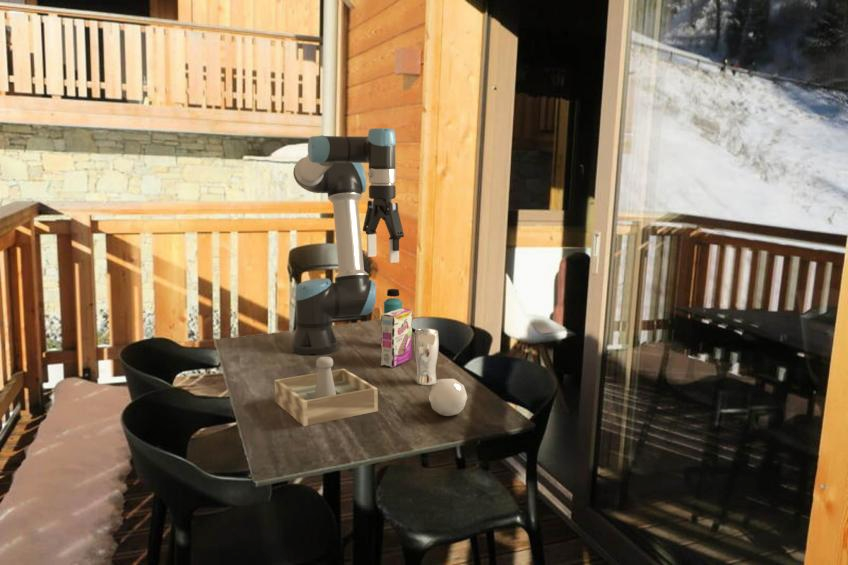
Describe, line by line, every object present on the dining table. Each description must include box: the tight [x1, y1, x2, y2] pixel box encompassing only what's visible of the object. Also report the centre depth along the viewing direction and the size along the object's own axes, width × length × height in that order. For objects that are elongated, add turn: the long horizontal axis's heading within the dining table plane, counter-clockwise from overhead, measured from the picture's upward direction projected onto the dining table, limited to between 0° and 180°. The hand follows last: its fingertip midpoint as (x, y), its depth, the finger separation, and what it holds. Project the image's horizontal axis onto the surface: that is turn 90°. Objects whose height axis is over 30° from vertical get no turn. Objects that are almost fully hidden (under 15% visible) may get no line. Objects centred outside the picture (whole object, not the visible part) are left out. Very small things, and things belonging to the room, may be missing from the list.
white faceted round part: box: [428, 378, 468, 417], centre depth 180 cm, size 9×10×15 cm
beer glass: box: [413, 327, 440, 386], centre depth 203 cm, size 7×7×15 cm
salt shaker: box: [314, 356, 336, 399], centre depth 183 cm, size 6×6×13 cm
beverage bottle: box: [383, 288, 403, 314], centre depth 239 cm, size 6×7×20 cm
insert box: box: [274, 368, 379, 427], centre depth 183 cm, size 20×20×6 cm
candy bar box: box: [380, 308, 413, 369], centre depth 221 cm, size 11×5×16 cm, turn 150°
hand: (382, 259), depth 203 cm, fingers open, 13 cm apart
